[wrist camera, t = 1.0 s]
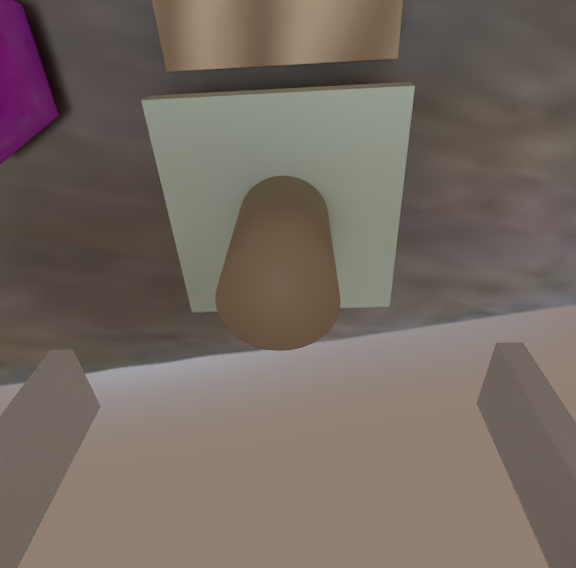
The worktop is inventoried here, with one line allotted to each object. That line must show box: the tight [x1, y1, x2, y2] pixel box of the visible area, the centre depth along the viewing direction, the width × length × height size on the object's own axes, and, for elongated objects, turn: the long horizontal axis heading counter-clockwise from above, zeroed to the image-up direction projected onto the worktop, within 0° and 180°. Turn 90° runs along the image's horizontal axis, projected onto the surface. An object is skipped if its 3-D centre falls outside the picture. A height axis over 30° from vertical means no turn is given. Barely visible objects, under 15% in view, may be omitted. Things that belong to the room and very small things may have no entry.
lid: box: [141, 82, 415, 351], centre depth 20 cm, size 13×13×9 cm
